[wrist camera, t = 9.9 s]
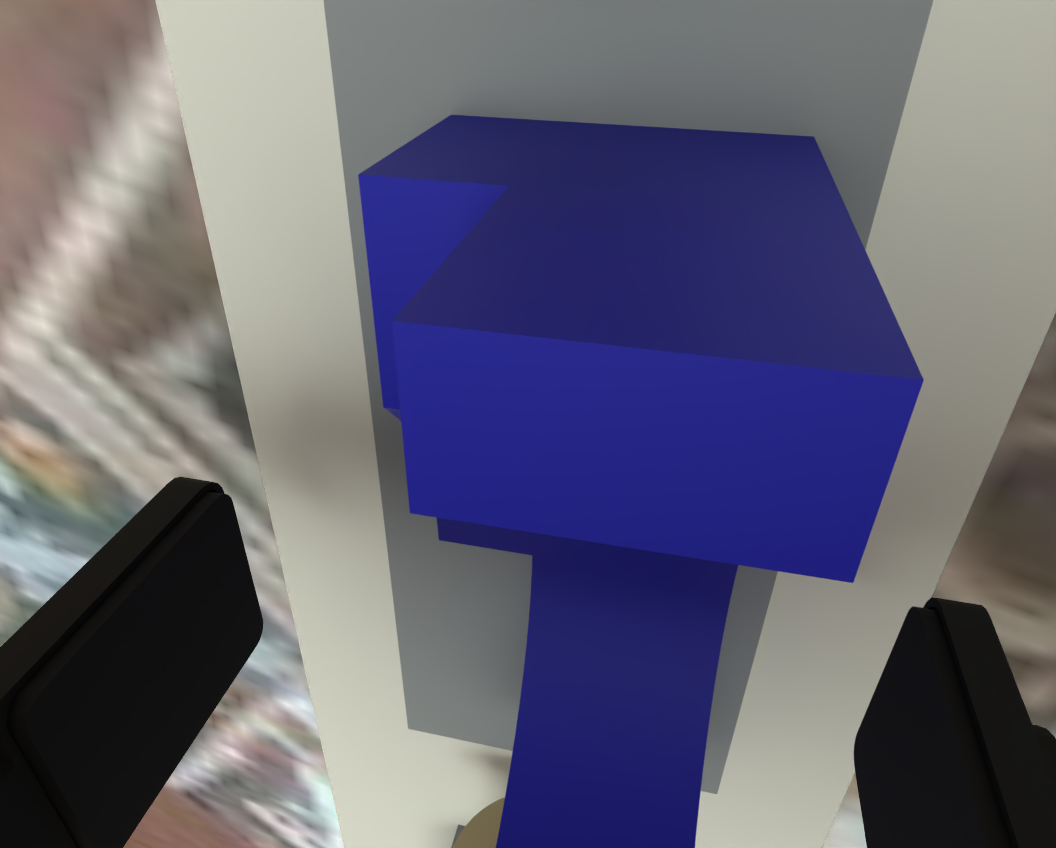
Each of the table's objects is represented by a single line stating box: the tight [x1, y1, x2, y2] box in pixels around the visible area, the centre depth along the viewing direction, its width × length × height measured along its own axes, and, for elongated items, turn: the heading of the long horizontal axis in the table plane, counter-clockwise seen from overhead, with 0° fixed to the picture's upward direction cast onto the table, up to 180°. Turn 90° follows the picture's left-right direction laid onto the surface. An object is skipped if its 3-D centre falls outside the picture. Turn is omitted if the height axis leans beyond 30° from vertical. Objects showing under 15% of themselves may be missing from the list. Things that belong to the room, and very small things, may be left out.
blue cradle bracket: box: [358, 115, 924, 848], centre depth 10 cm, size 12×4×6 cm, turn 179°
